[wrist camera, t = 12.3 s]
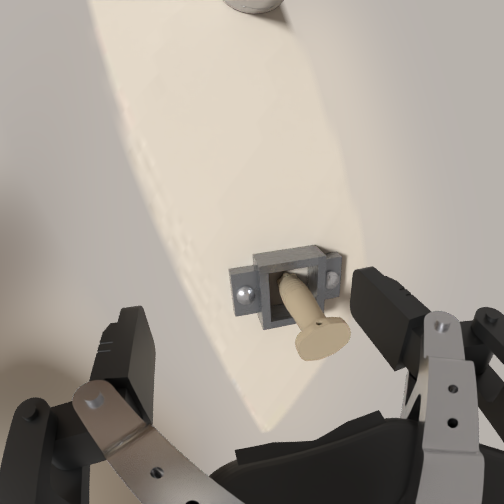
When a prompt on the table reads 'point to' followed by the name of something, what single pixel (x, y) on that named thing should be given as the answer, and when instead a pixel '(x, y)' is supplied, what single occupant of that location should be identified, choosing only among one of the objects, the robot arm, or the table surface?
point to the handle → (311, 321)
